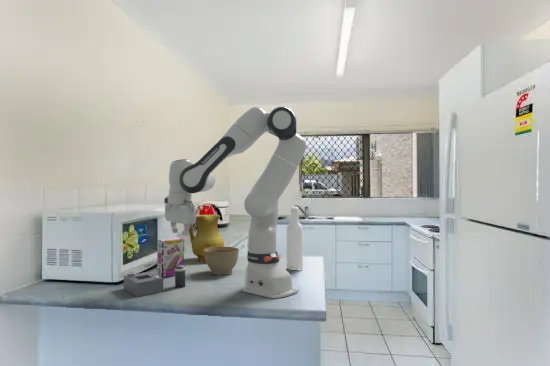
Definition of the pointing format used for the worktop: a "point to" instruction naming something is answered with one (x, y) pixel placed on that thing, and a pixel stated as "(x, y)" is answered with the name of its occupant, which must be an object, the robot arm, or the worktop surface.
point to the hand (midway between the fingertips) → (180, 234)
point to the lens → (179, 276)
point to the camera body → (143, 283)
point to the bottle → (294, 242)
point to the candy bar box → (169, 256)
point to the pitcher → (205, 235)
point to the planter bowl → (221, 259)
